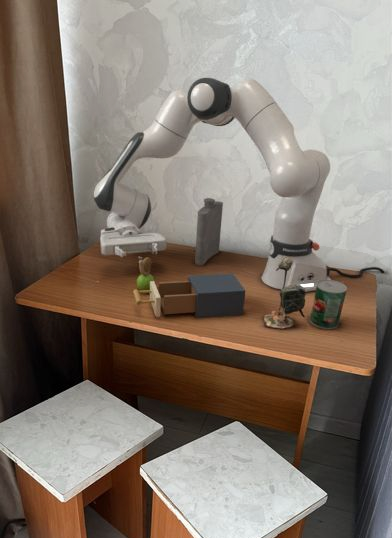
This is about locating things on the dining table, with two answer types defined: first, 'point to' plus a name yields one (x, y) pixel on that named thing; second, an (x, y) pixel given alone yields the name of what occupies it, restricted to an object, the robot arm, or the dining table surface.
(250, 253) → the dining table surface
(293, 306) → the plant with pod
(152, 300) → the drawer
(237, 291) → the cabinet
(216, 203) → the hip flask
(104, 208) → the robot arm
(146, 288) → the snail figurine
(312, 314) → the canned tomato
